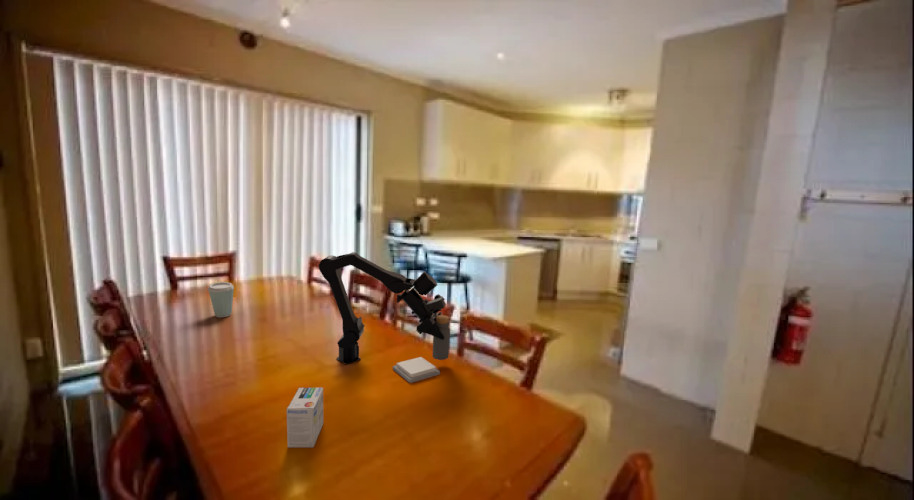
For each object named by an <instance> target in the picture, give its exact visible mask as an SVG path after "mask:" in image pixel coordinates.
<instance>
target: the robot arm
mask: <svg viewBox="0 0 914 500" xmlns="http://www.w3.org/2000/svg"><path fill="white" fill-rule="evenodd" d="M348 266H352V267H354V268H355V269H358V270H360V271H361V272H363V273H365V274H366V275H369V276H371V277H372V278H374V279H376V280H378V281H379V282H381V283H382V284H383V286H385V288H386V289H388V290H389V291H390V292H391V293H393V294H396V303H397V304H399V303H400V302H401V301H403V303H404V304H406V306H407V307H409V309H410V310H411V314H412V315H416V317H417V318H418V319H419V320H418V322H419V323H418V325H417V326H416V332H417V333H418V334H419V335H422V334H427V335H429V336H432V337H433V336H435V337H437V338H439V339H442V340H443V339H444V338H445V337H444V336H443V334H442V333H441V331H440V330H439V328H438V327H437V320H436V316H439V315H442V313H443V312H442V310H443V309H444V308H445V306H446V302H445V300H446V299H445V298H444V297H443V295H442V296H441V295H440V294H435V295H434V298H433V299H432V300H430V301H429V300H428V299H427V298H426V299H424V298H423V297H422V296H427V295H428V294H429V293H430V292H432V290H434V289H435V288H436V287H437V286H438V282H437V281H436V279H435V278H434V277H433V276H431V275H430V274H429V273H427V272H426V271H423V272H422V273H421V274H420V276H418V277H417V278H416V279H414V278H408V277H406V276H405V275H403V274H401V273H399V272H395V271H390V270H387V269H385V268H383V267H381V266H379V265H377V264H376V263H374V262H373V261H371V260H368V259H366V258H364V257H363V256H361V255H359V254H358V253H357V252H355V251H353V252H350V253H346V254H341V255H337V256H335V255H333V254H332V255H328V256H326V257H324V258H323V259H321V260H320V262H319V264H318V270H319V272H320V273H321V276H322V277H323V279H325V280H326V281H327V283H328V285H329V286H330V287H329V288H330V289H331V292H332V294H333V297H334V300H335V303H336V306H337V309H338V311H339V314H340V317H341V320H342V335H341V337H340V338H339V340H338V341H337V343H336V344H337V346H338V356H337V357H336V360H338V361H340V363H342V364H343V365H349V364H351V363H354V362H358V361H360V360H361V357H359V356H360V346H359V342H358V341H359V340H360V338H361V337H362V336H363V333H364V329H365V324H364V323H363V319H362V317H361V316H359V317H358V316H356V315H355V313H354V310H353V308H352V307H353V306H352V305H351V301H350V300H349V296H348V293H347V290H346V288H345V284H344V282H343V279H342V269H343V268H345V267H348Z"/></svg>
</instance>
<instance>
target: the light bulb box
mask: <svg viewBox="0 0 914 500" xmlns="http://www.w3.org/2000/svg"><path fill="white" fill-rule="evenodd" d="M323 425H324V387H298V388H297V390H296V393H295V394H294V397H293V398H292V399H291V401H290V403H289V405H288V406H287V408H286V430H287V431H286V434H287V435H286V438H287V448H314V447H315V445H316V443H317V439H318V437H319V435H320V433H321V431H322V428H323Z"/></svg>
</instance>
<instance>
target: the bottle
mask: <svg viewBox="0 0 914 500" xmlns="http://www.w3.org/2000/svg"><path fill="white" fill-rule="evenodd" d="M436 320H437V327H438V328H439V330H440V331H441V333H442V334H443V336H444V337H445V338H444V339H443V340H442V339H439V338H437V337H435V336H432V358H433V359H435V360H438V361H441V360H442V361H443V360H447V359H448V358H449V352H450V333H451V329H450V328H449V326H450V321H449V320H450V317H449V316H448V315H443V314H441V315H439V316H436Z"/></svg>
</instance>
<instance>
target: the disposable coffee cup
mask: <svg viewBox="0 0 914 500" xmlns="http://www.w3.org/2000/svg"><path fill="white" fill-rule="evenodd" d="M234 289H235V287H234V285H233V284H232V283H231V282H227V281H219V282H217V281H216V282H213V283H211V284H209V285H208V287H207V291H208V294H209V297H210V303H211V305H212V309H213V312H214V315H215V317H216V318H227V317H230V316H231V315H232V311H233V301H234Z"/></svg>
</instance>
